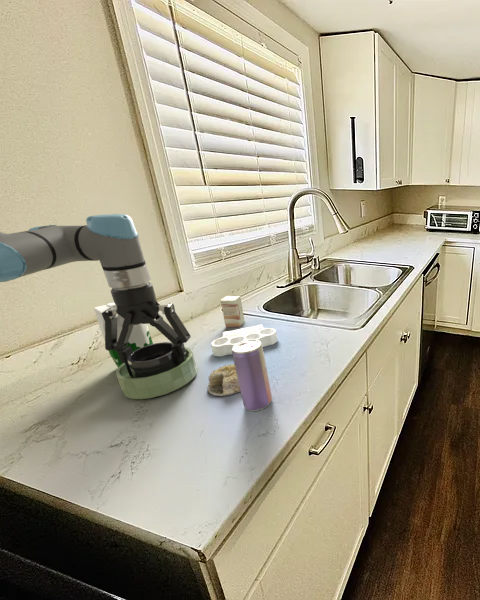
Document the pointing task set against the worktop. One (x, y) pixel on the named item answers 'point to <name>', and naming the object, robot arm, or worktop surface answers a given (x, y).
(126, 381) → the green bowl
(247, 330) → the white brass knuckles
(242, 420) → the worktop surface
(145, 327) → the milk carton
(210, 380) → the cake
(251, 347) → the beverage can
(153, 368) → the charcoal bowl
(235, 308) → the small white box
